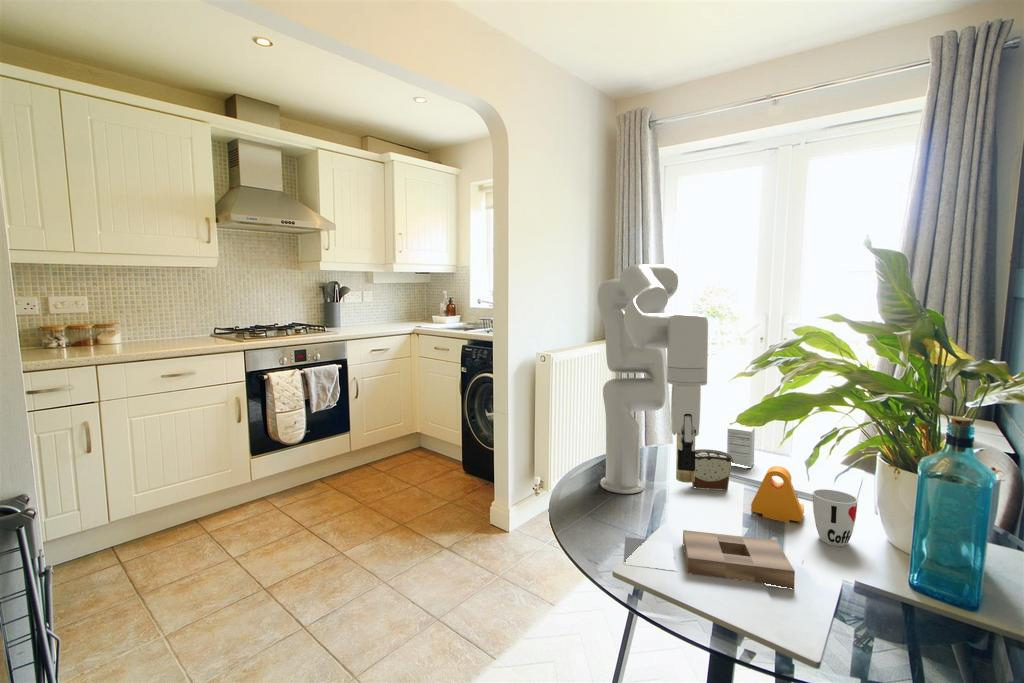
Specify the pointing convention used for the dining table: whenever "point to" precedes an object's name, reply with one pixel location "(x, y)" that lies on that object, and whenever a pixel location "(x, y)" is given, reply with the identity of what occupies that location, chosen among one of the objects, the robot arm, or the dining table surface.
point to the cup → (834, 515)
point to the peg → (681, 474)
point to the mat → (632, 546)
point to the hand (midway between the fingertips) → (685, 466)
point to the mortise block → (737, 558)
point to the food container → (712, 469)
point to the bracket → (777, 497)
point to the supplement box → (741, 445)
